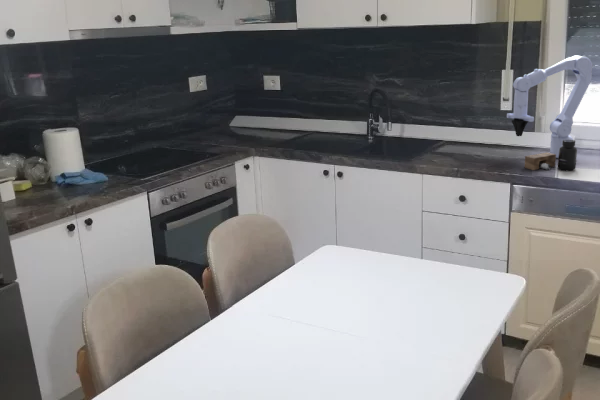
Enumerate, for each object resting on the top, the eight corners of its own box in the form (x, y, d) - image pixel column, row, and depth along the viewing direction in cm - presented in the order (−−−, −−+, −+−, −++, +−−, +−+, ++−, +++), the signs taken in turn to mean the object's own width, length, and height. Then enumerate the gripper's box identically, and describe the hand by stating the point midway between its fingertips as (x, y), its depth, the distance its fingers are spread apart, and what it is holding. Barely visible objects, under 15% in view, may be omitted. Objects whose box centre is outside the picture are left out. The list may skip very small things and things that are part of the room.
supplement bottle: (557, 170, 254) (559, 142, 251) (557, 167, 260) (559, 138, 257) (575, 171, 252) (578, 142, 248) (575, 167, 258) (577, 139, 254)
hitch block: (546, 163, 266) (546, 152, 265) (555, 166, 262) (555, 154, 260) (524, 167, 261) (525, 156, 260) (533, 170, 257) (534, 158, 256)
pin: (526, 166, 263) (527, 159, 262) (536, 164, 265) (537, 157, 264) (542, 171, 255) (543, 163, 254) (553, 169, 257) (553, 161, 256)
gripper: (501, 104, 277) (500, 134, 281) (525, 108, 265) (524, 139, 268) (514, 102, 280) (512, 132, 284) (538, 106, 267) (536, 137, 271)
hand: (519, 135), depth 276 cm, fingers closed
